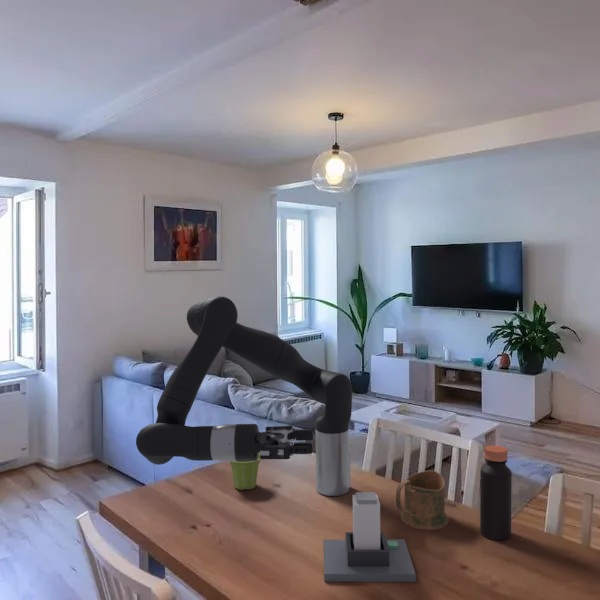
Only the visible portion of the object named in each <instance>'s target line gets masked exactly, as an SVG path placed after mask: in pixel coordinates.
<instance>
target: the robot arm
mask: <svg viewBox="0 0 600 600" xmlns="http://www.w3.org/2000/svg"><path fill="white" fill-rule="evenodd" d="M238 317H239V315H238V309H237V307H236V304H235V303H234V301H232V299H230V298H229V297H225V296H222V295H221V296H220V295H219V296H213V297H210V298H206V299H203V300H199V301H197V302H195V303H194V304H193V305H191V306H190V307H189V309H188V310H187V312H186V323H187V325H188V327H189V329H190V330H191V331H192V333H193V334H195V335H196V336H197V337H196V339H195V340H194V343H193V344H192V347H190V350H189V351H188V352H187V354H186V355H185V356H184V358H183V359H182V360H181V361H180V362H179V364H178V365H177V366H176V368H175V369H174V370H173V371H172V373H171V375H170V377H169V378H168V380H167V382H166V385H165V386H164V389H163V390H162V393H161V395H160V398H159V399H158V402H157V405H156V411H157V417H156V421H155V423H154V422H153V423H151V424H148V425H145V426H144V427H142V428H141V429H140V430H139V432H138V434H137V435H136V439H135V446H136V448H137V450H138V452H139V453H140V454H141V455H142V456H143V457H144V458H145V459H146V460H147V461H148V462H150V463H152V464H153V465H158V466H159V465H164V464H166V463H168V462H170V461H171V460H172V459H173V458H174V457H177V458H179V457H182V458H185V459H187V460H189V461H194V462H195V461H203V462H204V461H206V462H207V461H218V462H230V461H256V460H257V459H258V456H259V454H260V460H290V459H291V457H293V456H294V455H312V453H313V443H312V442H311V441H312V440H314V431H315V485H316V486H315V487H316V488H315V489H316V492H317V493H319V494H321V495H323V496H329V497H331V496H332V497H336V496H343V495H346V494H347V493H349V491H350V487H351V454H350V453H349V452H350V449H349V448H350V446H349V445H350V443H349V442H350V438H349V431H350V430H349V425H350V422H351V418H352V409H353V408H352V407H353V386H352V382H351V379H350V378H349V377H348V375H347V374H344V373H341V372H335V371H331V370H327V369H323V368H320V367H317V366H316V365H314V364H312V363H310V362H308V361H306V360H305V359H304V358H303V356H302V355H301V353H300V352H299V351H298V350H297V349H296V348H295V347H294V346H293V345H291V344H290V343H288V342H287V341H286V340H284V339H282V338H280V337H279V336H277V335H276V334H273V333H271V332H267V331H264V330H261V329H257V328H253V327H249V326H246V325H243V324H240V323H238V322H237V321H238ZM222 348H223V349H224V348H225V349H227V350H229V351H230V352H232V353H234V354H235V355H237V356H239V357H240V358H242V359H244V360H246V361H247V362H249V363H251V364H252V365H254V366H256V367H258V368H259V369H260V370H263V371H265V372H266V373H268V374H269V375H272V376H273V377H275V378H277V379H279V380H281V381H284V382H286V383H290V384H292V385H293V386H296V387H297V388H299V390H301V391H303V392H304V393H305V394H306V395H308V396H309V397H310V398H312V399H313V400H315V401H316V402H318V403H320V404H322V405H324V414H323V415H321V416H318V417H317V418H316V419H315V423H314V425H315V427H314V428H315V429H314V431H313V429H310V428H308V429H307V428H306V429H296V428H294V427H293V426H292V425H278V426H277V425H276V426H274V425H273V426H266V427H265V430H264V431H261V432H260V431H259V426H258V424H256V423H237V424H236V423H234V424H233V423H232V424H231V423H230V424H227V423H226V424H225V423H224V424H218V425H199V426H198V425H197V426H191V425H186V421H187V417H188V415H189V413H190V412H191V409H192V407H193V404H194V402H195V400H196V397H197V395H198V393H199V390H200V388H201V386H202V384H203V382H204V380H205V378H206V375H207V373H208V372H209V370H210V368H211V367H212V365H213V362H214V361H215V360H216V358H217V356H218V354H219V353H220V351H221V349H222ZM294 441H295V442H294ZM296 441H297V442H296ZM301 441H302V442H301Z"/></svg>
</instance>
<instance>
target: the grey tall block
mask: <svg viewBox="0 0 600 600" xmlns="http://www.w3.org/2000/svg"><path fill="white" fill-rule="evenodd" d="M352 532H353V550H380V532H381V503H380V500H379V497H378V494H376V493H375V492H374V491H373V492H372V491H369V492H368V491H365V492H364V491H359V492H357V491H356V492H355V494H352Z"/></svg>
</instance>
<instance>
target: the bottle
mask: <svg viewBox="0 0 600 600" xmlns="http://www.w3.org/2000/svg"><path fill="white" fill-rule="evenodd" d="M484 460H485V463H484V464H483V465H482V466H480V470H479V471H480V476H479V477H480V480H479V482H480V490H479V492H480V495H479V497H480V499H479V500H480V502H479V506H480V507H479V508H480V510H479V512H480V513H479V514H480V515H479V517H480V518H479V523H480V524H479V525H480V528H479V529H480V530H479V531H480V533H481V535H483V536H484V537H485V538H487V539H490V540H494V541H507V540H509V539H511V536H512V480H513V479H512V470H511V469H510V468H509V467H508V465H507V462H508V448H506V447H504V446H501V445H487V446H485V447H484Z"/></svg>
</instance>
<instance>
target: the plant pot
mask: <svg viewBox="0 0 600 600" xmlns="http://www.w3.org/2000/svg"><path fill="white" fill-rule="evenodd" d="M260 462H261V459H260V453H259V456H258V459H257V460H256V461H229V463H230V467H231V470H232V471H231V472H232V477H233V485H234V488H237V490H240V491H243V490H249V491H250V490H253V489H254V488H256V486H257V480H258V471H259V464H260Z"/></svg>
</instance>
